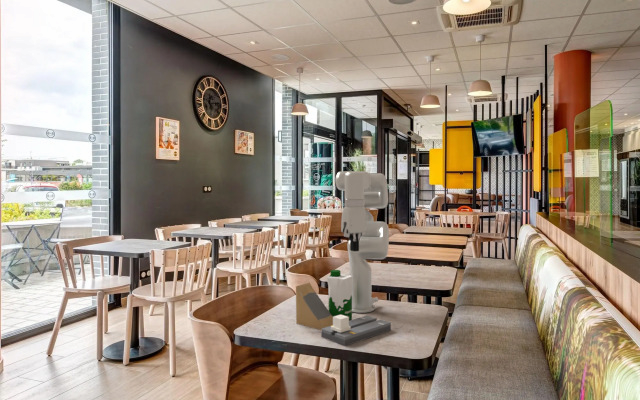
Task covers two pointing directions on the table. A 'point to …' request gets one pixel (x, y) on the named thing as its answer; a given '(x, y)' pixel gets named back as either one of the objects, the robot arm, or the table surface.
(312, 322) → the sandwich container
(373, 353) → the table surface
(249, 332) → the table surface
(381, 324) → the fader console
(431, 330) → the table surface
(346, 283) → the milk carton
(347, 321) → the fader knob
